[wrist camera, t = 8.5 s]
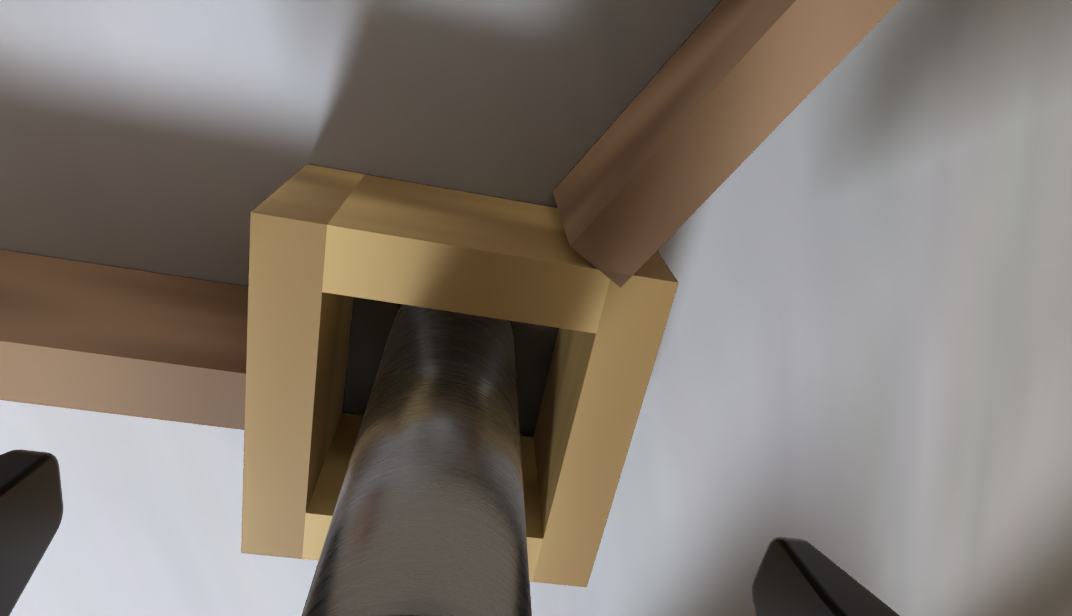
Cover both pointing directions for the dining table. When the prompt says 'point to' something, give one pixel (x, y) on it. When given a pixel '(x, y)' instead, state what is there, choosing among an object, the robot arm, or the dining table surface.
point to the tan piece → (433, 292)
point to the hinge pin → (432, 480)
